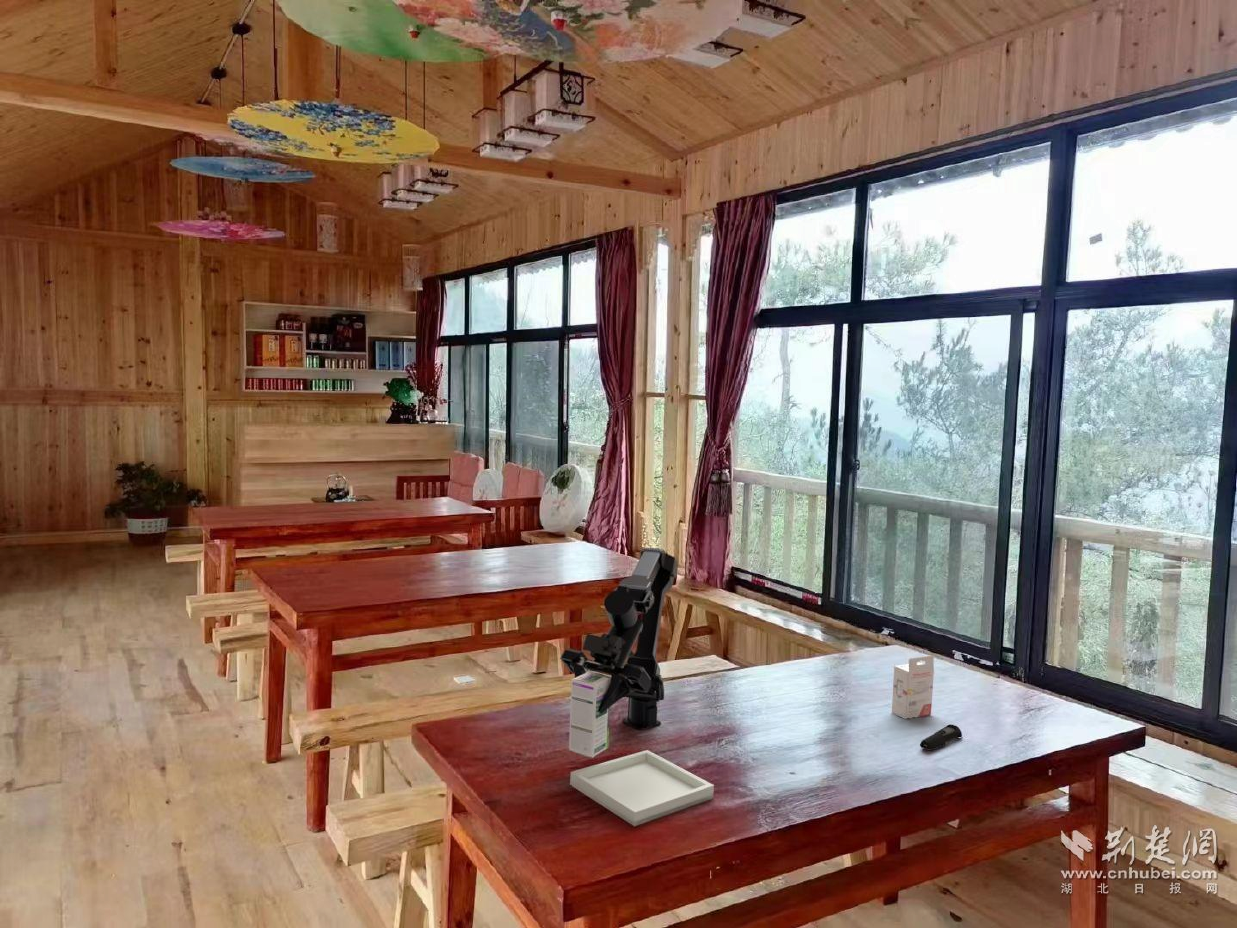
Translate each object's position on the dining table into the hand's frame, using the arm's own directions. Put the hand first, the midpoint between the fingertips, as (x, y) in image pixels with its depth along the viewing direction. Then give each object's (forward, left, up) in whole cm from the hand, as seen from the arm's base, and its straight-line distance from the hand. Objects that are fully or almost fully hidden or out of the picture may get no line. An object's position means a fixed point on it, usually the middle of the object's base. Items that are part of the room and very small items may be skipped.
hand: (586, 708), depth 168 cm
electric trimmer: (+29, +77, -14) cm, 83 cm away
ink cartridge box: (+15, +87, -14) cm, 90 cm away
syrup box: (-1, +1, -9) cm, 9 cm away
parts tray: (+11, +5, -13) cm, 18 cm away
